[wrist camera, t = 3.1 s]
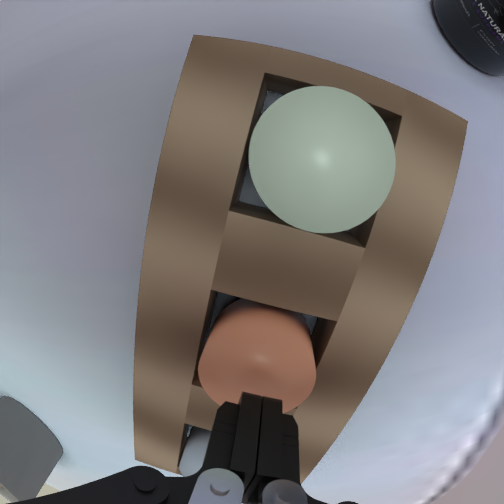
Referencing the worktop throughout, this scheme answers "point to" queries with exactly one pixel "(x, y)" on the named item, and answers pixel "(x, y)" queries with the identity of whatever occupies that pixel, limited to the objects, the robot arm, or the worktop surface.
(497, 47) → the supplement bottle
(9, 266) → the worktop surface
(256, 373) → the terracotta button
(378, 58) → the worktop surface
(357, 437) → the worktop surface
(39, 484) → the coffee mug
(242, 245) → the button panel
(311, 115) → the sage button
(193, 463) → the slate button
